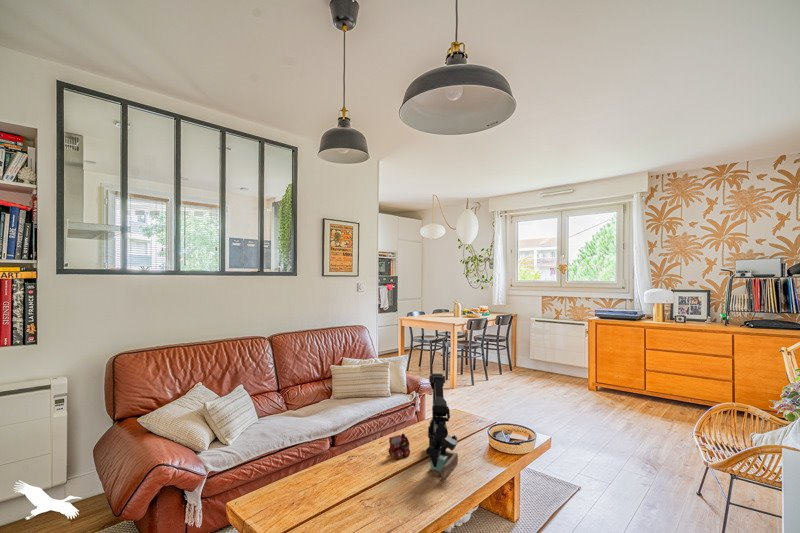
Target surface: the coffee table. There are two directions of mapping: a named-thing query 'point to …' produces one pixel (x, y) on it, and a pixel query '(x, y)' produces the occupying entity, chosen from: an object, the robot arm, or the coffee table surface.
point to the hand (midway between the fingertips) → (438, 462)
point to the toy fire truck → (399, 446)
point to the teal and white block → (440, 463)
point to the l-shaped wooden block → (448, 464)
